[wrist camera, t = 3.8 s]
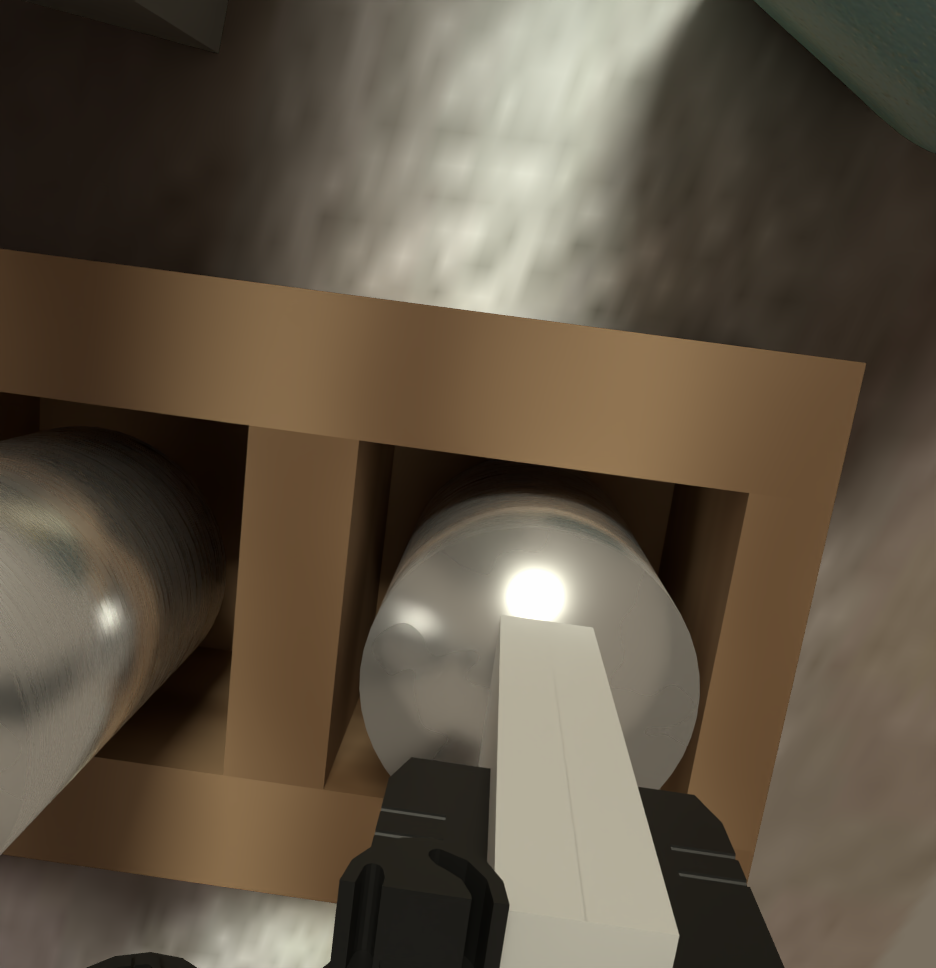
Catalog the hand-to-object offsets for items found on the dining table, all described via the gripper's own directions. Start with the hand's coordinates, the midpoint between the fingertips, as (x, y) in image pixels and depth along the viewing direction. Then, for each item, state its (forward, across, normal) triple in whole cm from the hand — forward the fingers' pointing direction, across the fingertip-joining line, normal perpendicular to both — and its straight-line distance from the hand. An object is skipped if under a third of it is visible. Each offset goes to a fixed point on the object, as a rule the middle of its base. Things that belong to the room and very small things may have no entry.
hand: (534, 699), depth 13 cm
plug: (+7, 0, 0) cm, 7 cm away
